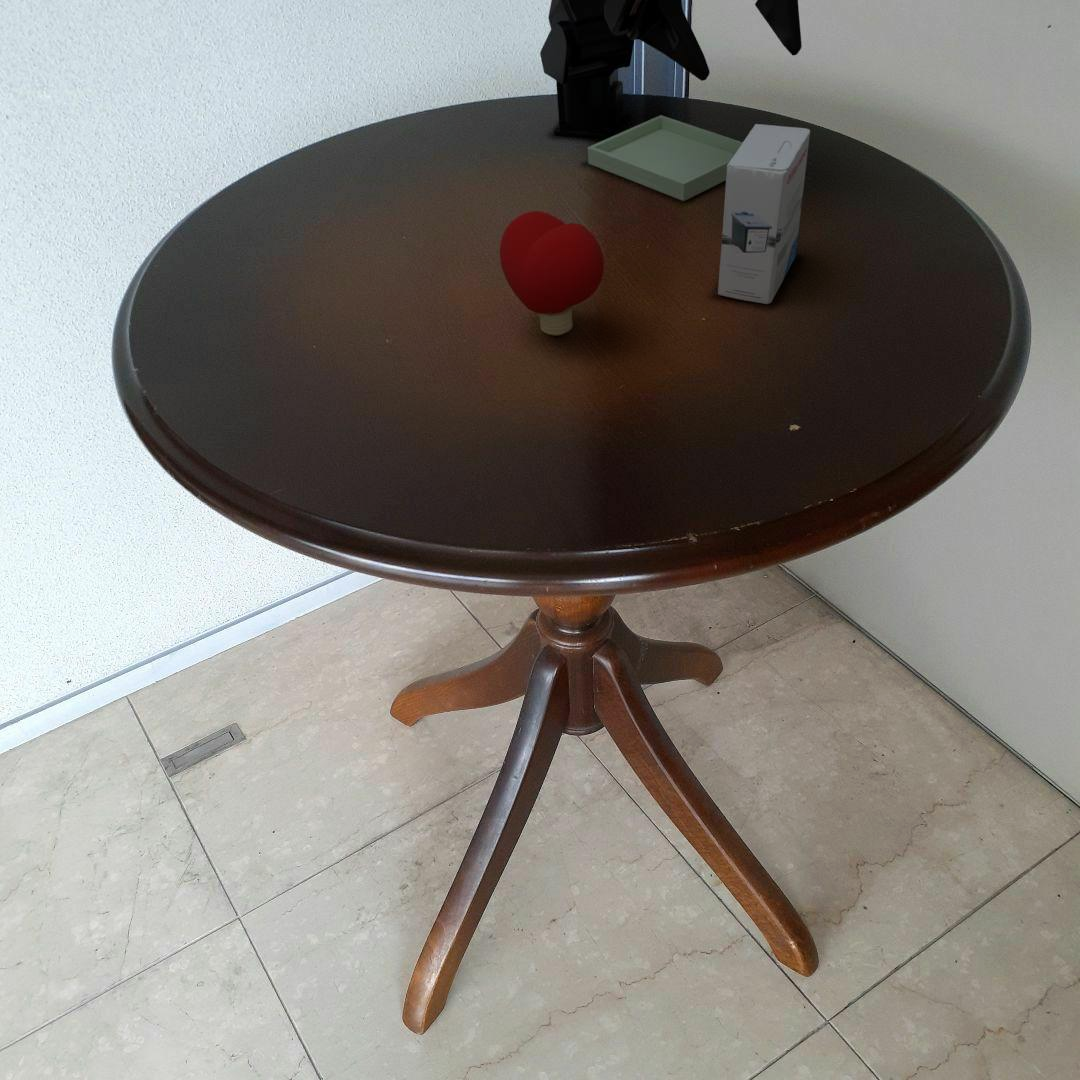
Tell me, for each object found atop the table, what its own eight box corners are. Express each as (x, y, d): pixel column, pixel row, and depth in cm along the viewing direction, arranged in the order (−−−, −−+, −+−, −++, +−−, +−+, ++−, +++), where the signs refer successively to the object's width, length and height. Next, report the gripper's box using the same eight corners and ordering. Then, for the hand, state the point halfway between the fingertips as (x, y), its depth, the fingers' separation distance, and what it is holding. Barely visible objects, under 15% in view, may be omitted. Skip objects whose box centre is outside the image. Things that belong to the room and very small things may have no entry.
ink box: (744, 250, 93) (753, 120, 85) (800, 258, 92) (813, 126, 84) (716, 297, 88) (722, 163, 80) (774, 306, 86) (786, 170, 78)
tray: (588, 163, 110) (587, 147, 108) (660, 131, 114) (660, 114, 113) (683, 201, 101) (683, 184, 100) (757, 164, 106) (758, 147, 105)
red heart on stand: (488, 335, 86) (473, 224, 80) (544, 300, 90) (535, 190, 83) (571, 372, 81) (562, 257, 75) (627, 333, 85) (624, 220, 78)
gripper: (607, -155, 78) (692, 24, 76) (810, -195, 83) (893, -28, 81) (571, -46, 88) (645, 113, 87) (753, -88, 93) (825, 62, 92)
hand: (752, 64), depth 86 cm, fingers open, 9 cm apart
